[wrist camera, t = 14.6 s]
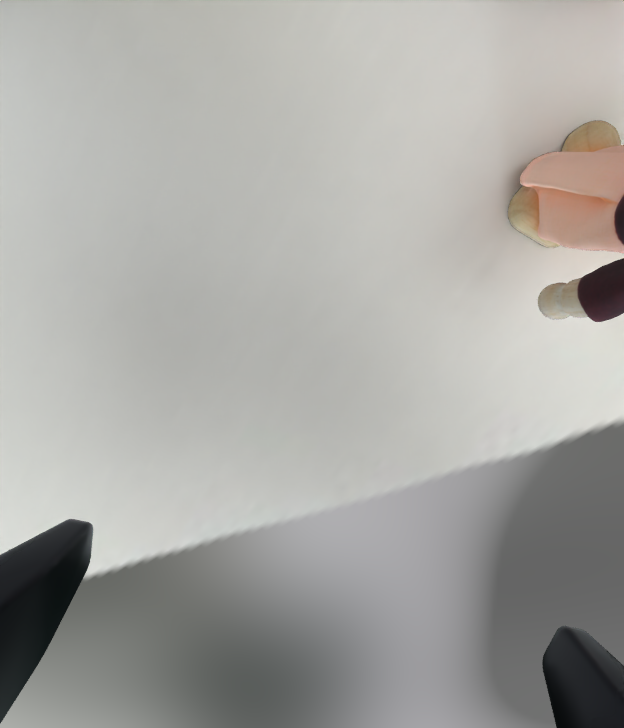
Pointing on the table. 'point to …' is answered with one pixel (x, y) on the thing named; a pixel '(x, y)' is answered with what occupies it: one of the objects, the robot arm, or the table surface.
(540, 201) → the grandmother figurine
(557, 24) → the table surface
